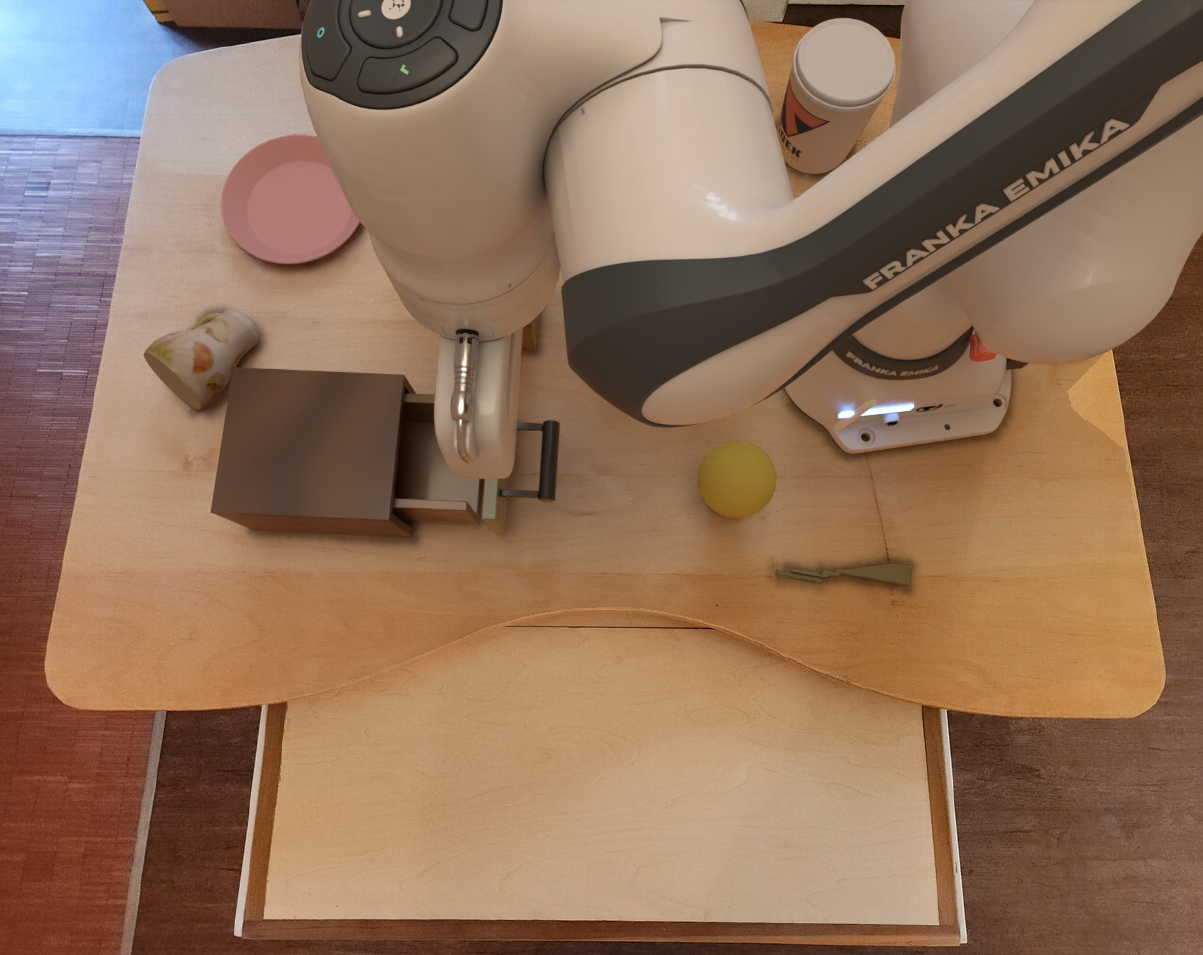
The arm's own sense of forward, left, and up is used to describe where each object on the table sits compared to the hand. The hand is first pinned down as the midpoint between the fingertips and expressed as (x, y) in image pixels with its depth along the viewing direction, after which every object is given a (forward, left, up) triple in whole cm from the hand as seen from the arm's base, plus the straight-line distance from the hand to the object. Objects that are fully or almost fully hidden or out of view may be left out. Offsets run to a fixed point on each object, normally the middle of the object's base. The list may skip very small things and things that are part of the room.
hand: (503, 351), depth 55 cm
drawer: (+6, +3, -22) cm, 23 cm away
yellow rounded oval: (-18, +4, -24) cm, 30 cm away
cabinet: (+18, +3, -23) cm, 29 cm away
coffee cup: (-27, -34, -24) cm, 49 cm away
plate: (+25, -24, -24) cm, 41 cm away
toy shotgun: (-29, +11, -23) cm, 39 cm away
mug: (+31, -7, -24) cm, 39 cm away
